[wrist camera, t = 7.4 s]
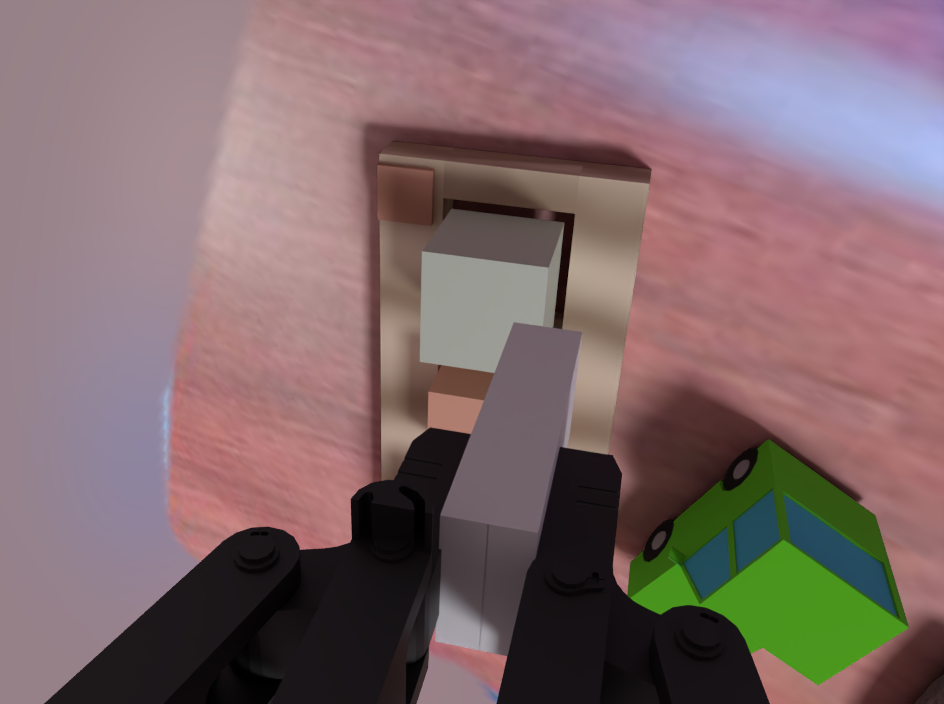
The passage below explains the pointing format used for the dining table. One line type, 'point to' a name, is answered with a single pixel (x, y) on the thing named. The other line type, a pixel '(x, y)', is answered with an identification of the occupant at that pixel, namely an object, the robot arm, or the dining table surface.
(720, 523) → the toy car
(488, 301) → the sage button
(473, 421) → the terracotta button
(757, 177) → the dining table surface
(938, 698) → the perforated stone tool
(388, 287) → the board
